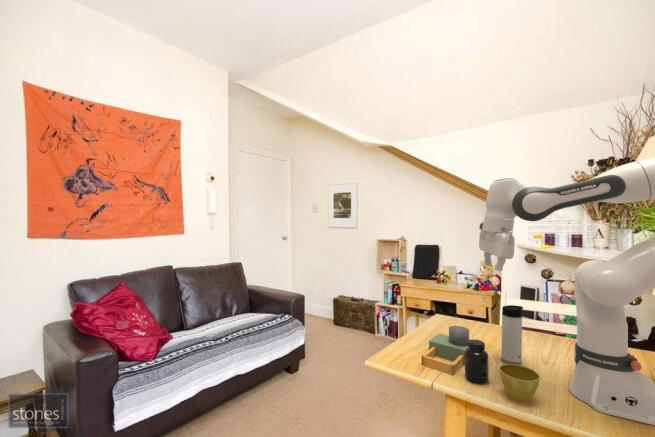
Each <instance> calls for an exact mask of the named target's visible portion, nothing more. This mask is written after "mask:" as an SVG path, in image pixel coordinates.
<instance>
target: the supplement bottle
mask: <svg viewBox="0 0 655 437" xmlns="http://www.w3.org/2000/svg"><path fill="white" fill-rule="evenodd" d="M468 347H469V348H467V349H466V351H465V365H464V377H465V379H466V380H467V381H468V382H469V383H472V384H476V385H486V384H487V383H489V369H490V368H489V366H490V364H489V354H488V352H487V351H486V343H485V342H484V341H483V340H481V339H480V340H479V339H469V341H468Z"/></svg>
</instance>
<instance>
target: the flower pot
mask: <svg viewBox="0 0 655 437" xmlns="http://www.w3.org/2000/svg"><path fill="white" fill-rule="evenodd" d="M498 370H499V375H500V378H501V379H500V380H501V382H502V384H503V386H504V390H505V391H506V392H507V394H508V396H510V398H512V399H513V400H516V401H519V402H528V401H529V400H531V398H532V397H533V396H534V395H535V393H536V392H537V390H538V387H539V384H540V380H541V376H540V374H539V373H538V372H537V371H535V370H534V369H531V368H529V367H526V366H524V365H521V364H520V365H514V364H507V363H504V364H501V365H499V368H498Z"/></svg>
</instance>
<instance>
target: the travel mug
mask: <svg viewBox="0 0 655 437" xmlns="http://www.w3.org/2000/svg"><path fill="white" fill-rule="evenodd" d="M523 310H524V307H523V306H522V305H514V304H512V305H509V304H508V305H503V306H502V310H501V312H502V313H501V358H500V360H501V361H502V362H504V364H514V365H520V366H521V365H522V359H523V358H522V355H523V354H522V352H523V349H522V348H523Z"/></svg>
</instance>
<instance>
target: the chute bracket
mask: <svg viewBox="0 0 655 437" xmlns="http://www.w3.org/2000/svg"><path fill="white" fill-rule="evenodd" d="M435 357H436V356H435V348H434V347H432V348H431V349H430V350H429V349H428V350H426V352H425V353H424V354H422V355H421V365H422V366H425V367H428V368H431V369H434V370H437V371H440V372H442V373H443V372H444V373H447V374H449V375H452V376H454V375H455V374H456V373H458V371H459V370H460V368H461V367H462V366H464V364H463V356H462V355H460V356H459V357H458V358H457V359H456V360H455V361H452V363H451V362H447V361H443V360H440V359H437V358H435Z"/></svg>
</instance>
